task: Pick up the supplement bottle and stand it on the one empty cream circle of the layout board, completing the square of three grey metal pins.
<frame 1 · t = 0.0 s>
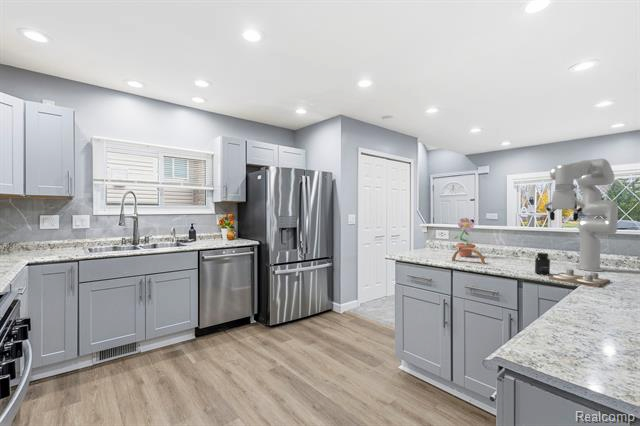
hand: (563, 220, 160), 31 cm above the counter, tool pointing down, fingers open, 9 cm apart
decorative flower: (464, 256, 235), on the counter
layout board: (578, 280, 157), on the counter
supplement bottle: (542, 274, 172), on the counter
arch: (467, 262, 211), on the counter
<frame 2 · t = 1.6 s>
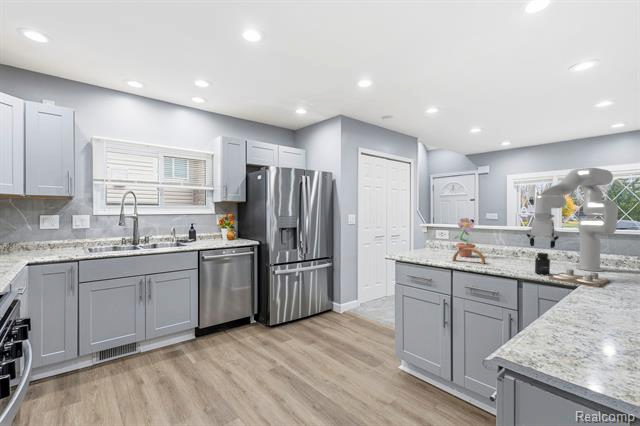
hand: (542, 246, 172), 16 cm above the counter, tool pointing down, fingers open, 9 cm apart
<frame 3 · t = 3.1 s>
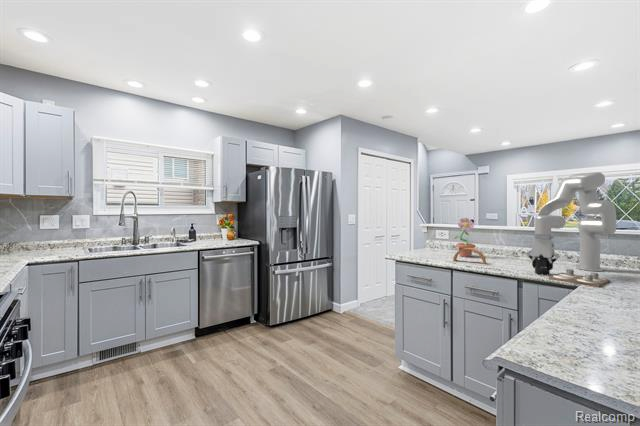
hand: (542, 268, 172), 3 cm above the counter, tool pointing down, fingers closed on supplement bottle, 6 cm apart
supplement bottle: (542, 274, 172), on the counter, touching gripper
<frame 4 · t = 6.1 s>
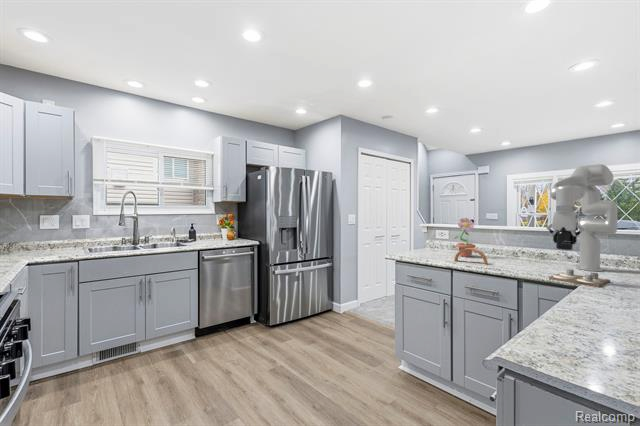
hand: (564, 243, 159), 19 cm above the counter, tool pointing down, fingers closed on supplement bottle, 6 cm apart
supplement bottle: (564, 249, 159), point 16 cm above the counter, touching gripper
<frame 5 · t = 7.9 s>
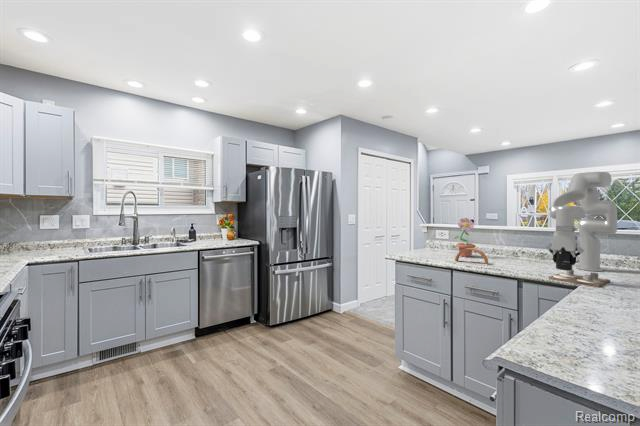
hand: (564, 263, 159), 9 cm above the counter, tool pointing down, fingers closed on supplement bottle, 6 cm apart
supplement bottle: (564, 269, 159), point 5 cm above the counter, touching gripper
when the fingers open (6 cm above the counter, at t = 9.1 s): supplement bottle drops 1 cm, resting on layout board.
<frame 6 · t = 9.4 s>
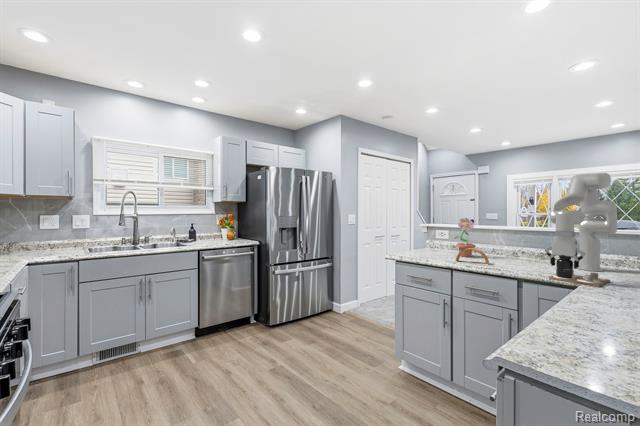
hand: (564, 266, 159), 7 cm above the counter, tool pointing down, fingers open, 9 cm apart
supplement bottle: (564, 277, 159), point 1 cm above the counter, touching layout board
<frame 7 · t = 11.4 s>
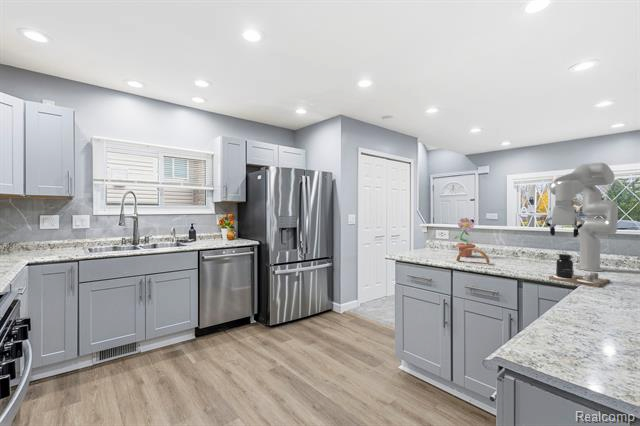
hand: (563, 236, 161), 23 cm above the counter, tool pointing down, fingers open, 9 cm apart
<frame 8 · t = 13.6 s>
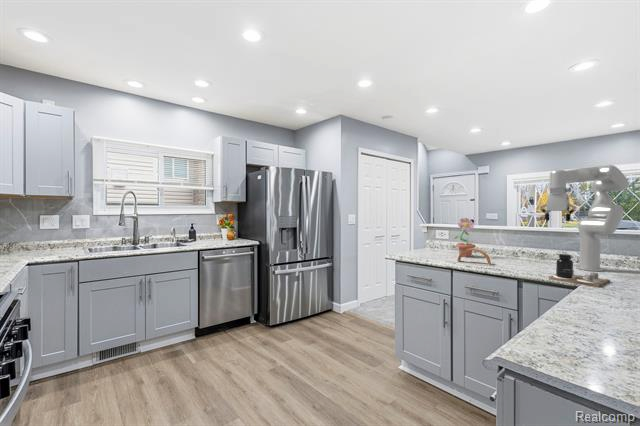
hand: (557, 220, 176), 30 cm above the counter, tool pointing down, fingers open, 9 cm apart
at the end: supplement bottle 0.1 cm from the target spot on the layout board, point 1.2 cm above the layout board's base; supplement bottle tilted 0°; the gripper is holding nothing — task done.
